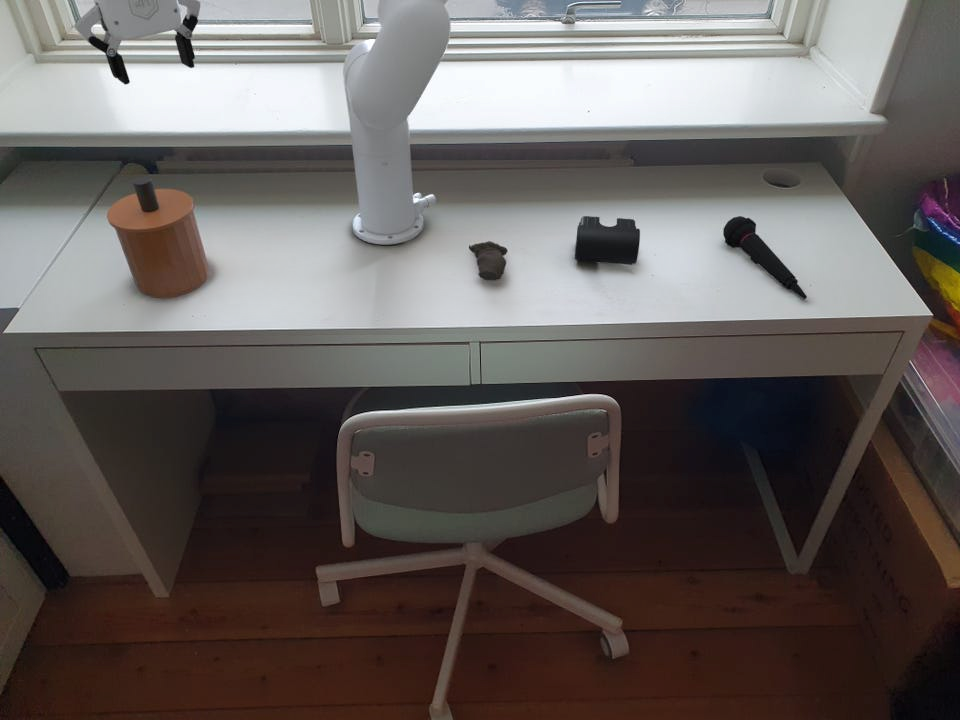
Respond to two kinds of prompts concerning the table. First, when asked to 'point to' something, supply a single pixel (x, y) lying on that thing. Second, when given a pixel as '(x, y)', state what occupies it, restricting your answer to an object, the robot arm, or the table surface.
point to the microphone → (759, 251)
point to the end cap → (607, 241)
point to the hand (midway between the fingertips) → (156, 73)
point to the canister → (166, 259)
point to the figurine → (489, 259)
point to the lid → (149, 208)
